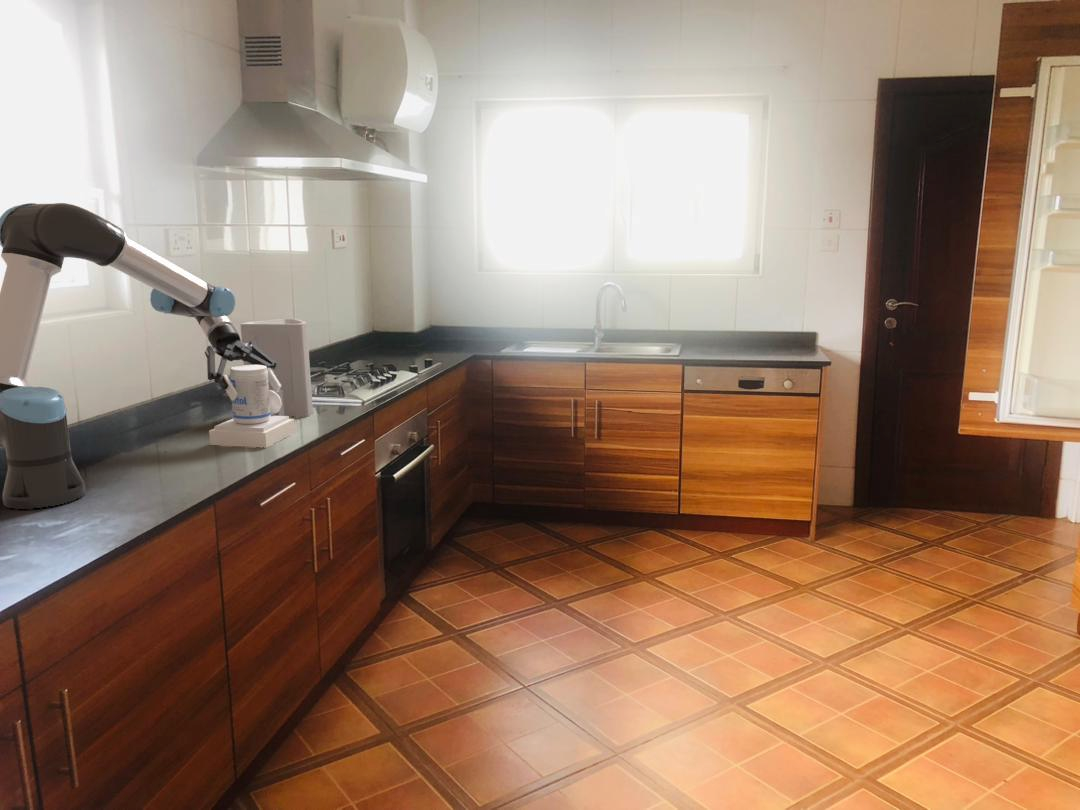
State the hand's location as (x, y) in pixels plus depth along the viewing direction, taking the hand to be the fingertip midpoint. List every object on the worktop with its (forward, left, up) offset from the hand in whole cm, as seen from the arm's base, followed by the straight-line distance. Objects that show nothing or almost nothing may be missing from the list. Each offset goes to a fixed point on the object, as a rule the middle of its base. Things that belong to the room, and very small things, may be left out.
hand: (257, 393), depth 220 cm
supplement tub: (-1, +3, -8) cm, 9 cm away
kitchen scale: (+1, +5, -13) cm, 14 cm away
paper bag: (+19, +31, -13) cm, 39 cm away
